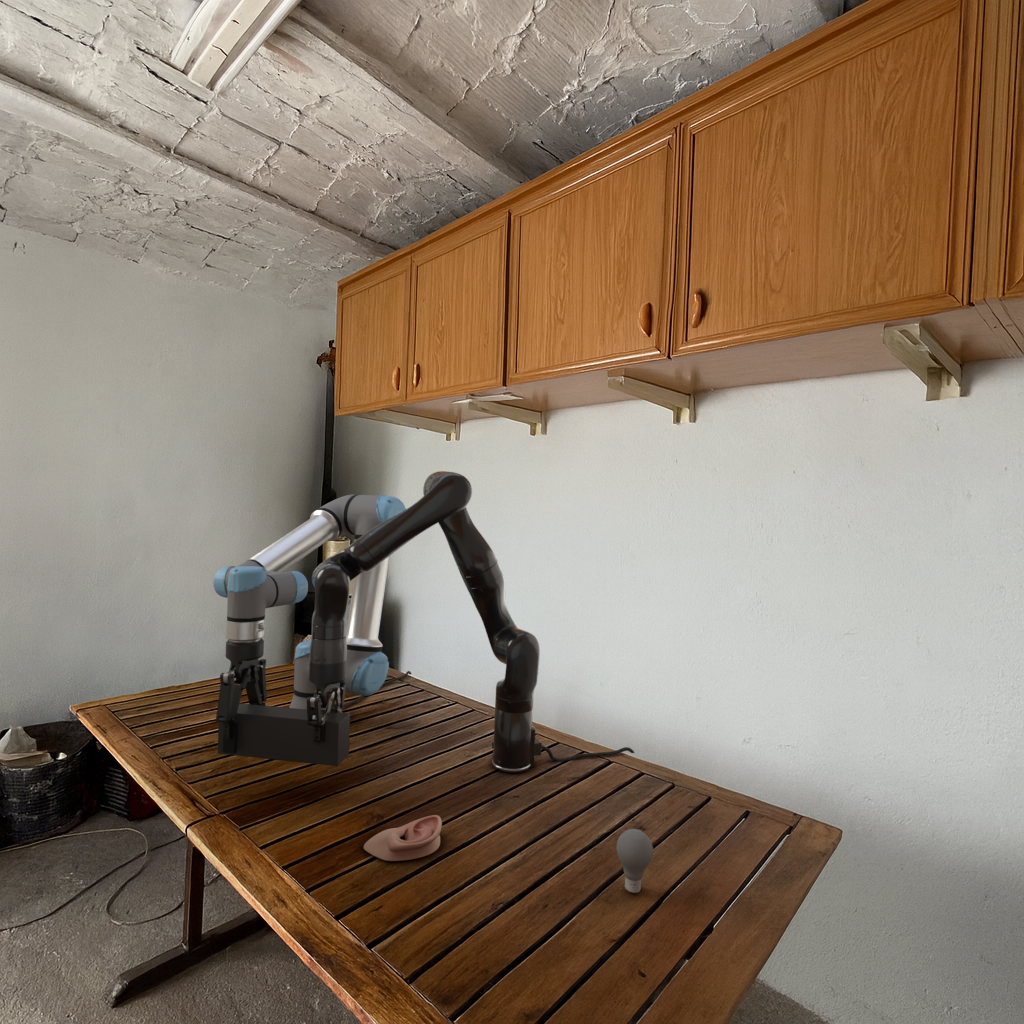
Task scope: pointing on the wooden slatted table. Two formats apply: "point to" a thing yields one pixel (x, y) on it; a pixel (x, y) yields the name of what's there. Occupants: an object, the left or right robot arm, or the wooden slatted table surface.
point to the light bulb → (634, 857)
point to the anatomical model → (407, 840)
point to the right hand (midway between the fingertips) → (325, 737)
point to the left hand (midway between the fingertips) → (241, 744)
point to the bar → (288, 735)
